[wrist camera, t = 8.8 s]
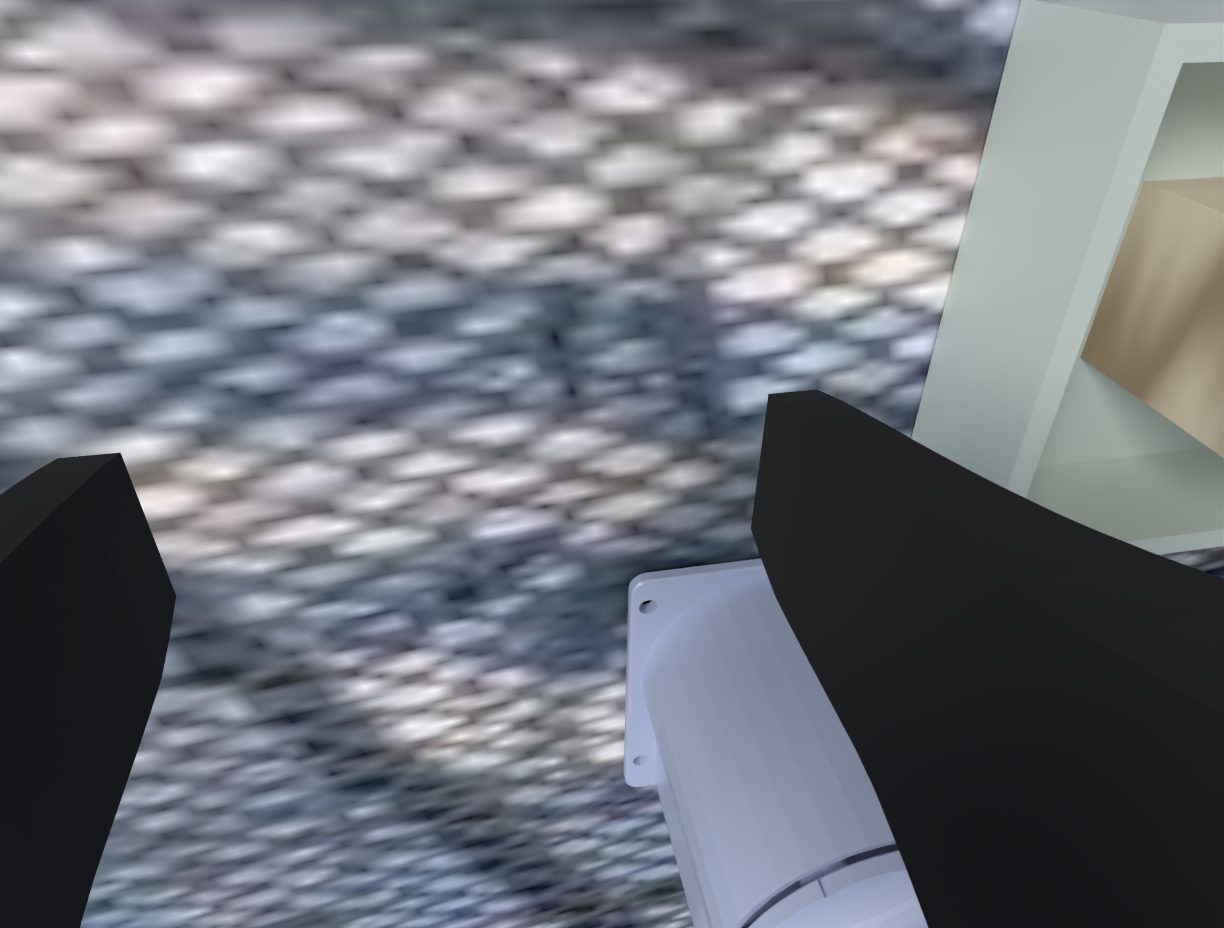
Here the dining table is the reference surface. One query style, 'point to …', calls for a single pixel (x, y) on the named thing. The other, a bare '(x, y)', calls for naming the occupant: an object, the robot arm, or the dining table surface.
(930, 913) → the robot arm
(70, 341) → the dining table surface
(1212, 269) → the birch block
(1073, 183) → the bin
